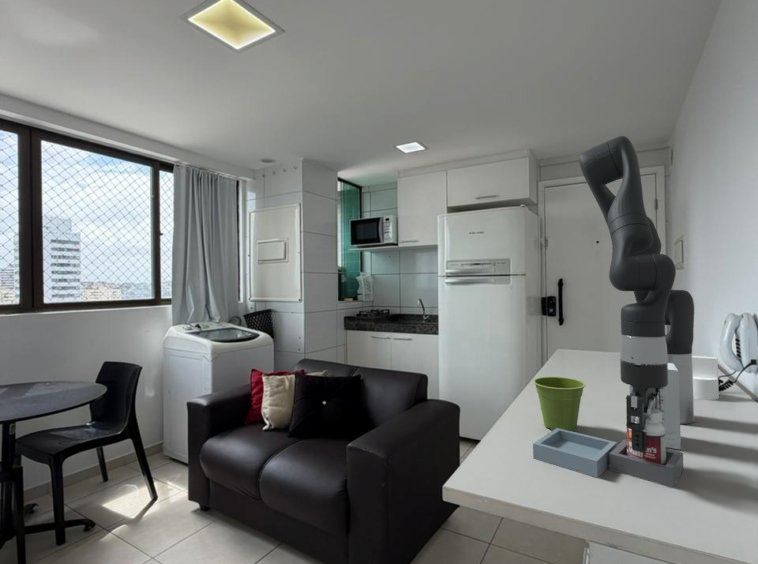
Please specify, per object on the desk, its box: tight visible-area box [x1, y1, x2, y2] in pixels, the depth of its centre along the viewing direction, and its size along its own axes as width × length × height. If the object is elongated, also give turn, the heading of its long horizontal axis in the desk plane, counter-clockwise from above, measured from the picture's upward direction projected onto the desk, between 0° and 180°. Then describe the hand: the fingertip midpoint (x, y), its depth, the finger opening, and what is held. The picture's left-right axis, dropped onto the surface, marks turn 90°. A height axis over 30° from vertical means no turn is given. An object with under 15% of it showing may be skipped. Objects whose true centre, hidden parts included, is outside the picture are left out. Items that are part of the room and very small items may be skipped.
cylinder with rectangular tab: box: [692, 355, 720, 401], centre depth 123 cm, size 9×9×12 cm
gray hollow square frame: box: [609, 438, 684, 488], centre depth 76 cm, size 10×10×3 cm
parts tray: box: [532, 428, 618, 479], centre depth 81 cm, size 12×12×3 cm
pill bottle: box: [626, 408, 667, 466], centre depth 76 cm, size 6×6×11 cm
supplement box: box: [628, 363, 682, 451], centre depth 90 cm, size 10×9×17 cm
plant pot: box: [532, 376, 587, 432], centre depth 98 cm, size 12×12×11 cm
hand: (645, 444), depth 76 cm, fingers open, 8 cm apart
